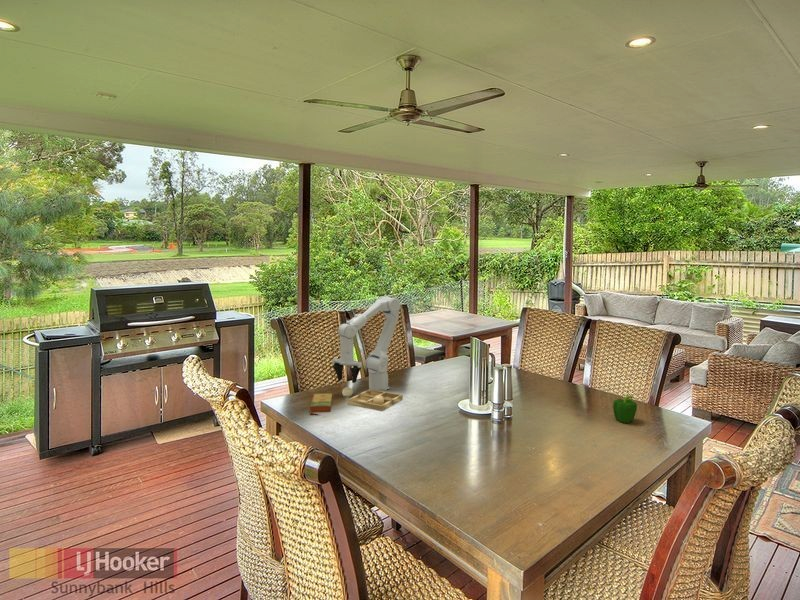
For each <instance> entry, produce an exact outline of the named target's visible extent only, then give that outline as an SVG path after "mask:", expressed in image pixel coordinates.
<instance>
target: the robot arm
mask: <svg viewBox="0 0 800 600" xmlns="http://www.w3.org/2000/svg"><path fill="white" fill-rule="evenodd" d="M401 306H402V305H401V303H400V301H399V299H398V298H396V297H388V296H383V295H382V296H380V297H379V298H377V299H376V300H375V302H374V303H373V304H372V305H371V306H369V307H368V308H367V309H366V310H365V311H364V312H363V313H355V314H354V316H353V317H352V318H351V319H349V320H347V321H346V323H342V324H340V325H339V326H338V329H337V331H336V332H337V334H338V336H339V342H340V343H339V344H340V346H339V349H340V350H339V351H340V357H339V358H333V359H331V360H332V361H331V363H332V364H333V365H332V368H333V369H334V372H335V373H336V377H337V381H339V382H340V381H342V380H343V371H344V366H349V367H350V368H349V369H350V372H351V373H350V374H351V382H352V383H353V384H355V383H357V381H358V380H357V379H358V376H359V373H360V371H361V370H362V366H363V362H361V361H357V360H355V359H354V337H355V336H356V334H357V332H358V331H359V330H360V329H361V328H363V327H364V326H365V325H366V324H367V321H368V320H369V319H370V318H372V317H373V316H375V315H377V313H378V314H379V312H382V313H383V315H384V317H385V321H384V324H383V327H382V329H381V332H380V336H379V338H378V341H377V343H376V347H375V349H373V350H372V351H371V352H370V353H369V356H368V357H367V358H366V359H365V366H366V368H367V369H368V389H372V390H378V391H388V390H390V386H389V373H388V372H387V370H388V367H389V366H388V365H389V364H388V362H389V357H388V355H387V352H388V349H389V347H390V344H391V341H392V339H393V336H394V333H395V329H396V328H397V327H396V326H397V324H398V321H399V318H400V317H399V316H400V309H401ZM387 389H388V390H387Z"/></svg>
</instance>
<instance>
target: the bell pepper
mask: <svg viewBox="0 0 800 600" xmlns="http://www.w3.org/2000/svg"><path fill="white" fill-rule="evenodd" d="M633 398H634V397H633V396H632V395H627V396H625V397H624V398H623V399H622V398H620V397H619V398H617V399H614V400H613V402H612V410H613V414H614V415H613V416H614V418H615V420H616V421H618V422H620V423H624V424H626V423H627V424H629V423H631V422H633V421H634V419H635V417H636V413H637V410H638V405H637V402H636V401H633V400H632V399H633Z"/></svg>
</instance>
